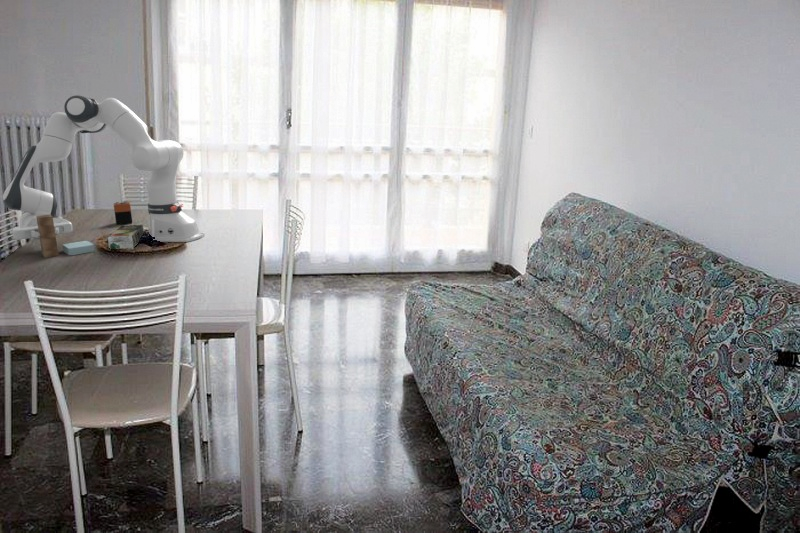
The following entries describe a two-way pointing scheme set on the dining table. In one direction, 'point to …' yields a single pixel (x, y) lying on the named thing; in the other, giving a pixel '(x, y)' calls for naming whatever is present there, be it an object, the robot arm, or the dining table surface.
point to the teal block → (78, 247)
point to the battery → (122, 213)
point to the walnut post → (47, 235)
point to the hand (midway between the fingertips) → (47, 233)
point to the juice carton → (125, 237)
